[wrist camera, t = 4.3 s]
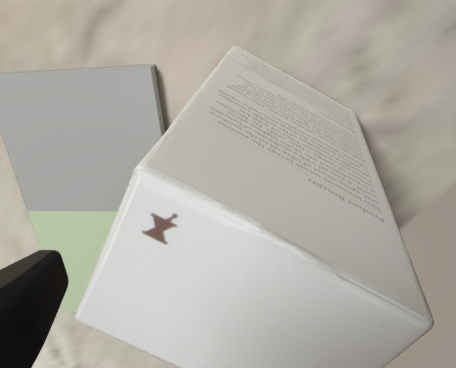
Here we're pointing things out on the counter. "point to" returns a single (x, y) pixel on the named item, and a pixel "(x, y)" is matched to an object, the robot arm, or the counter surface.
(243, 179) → the skincare box
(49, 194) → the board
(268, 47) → the counter surface
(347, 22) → the counter surface
